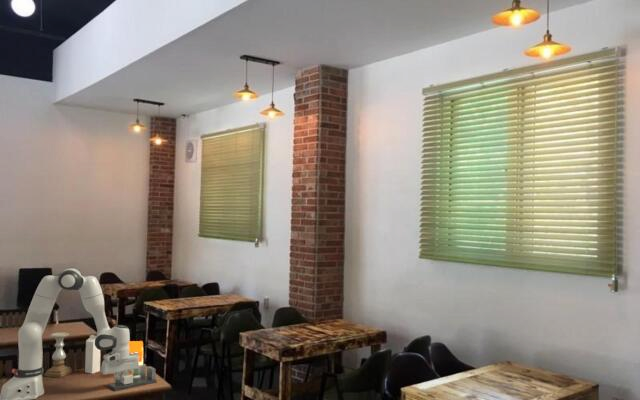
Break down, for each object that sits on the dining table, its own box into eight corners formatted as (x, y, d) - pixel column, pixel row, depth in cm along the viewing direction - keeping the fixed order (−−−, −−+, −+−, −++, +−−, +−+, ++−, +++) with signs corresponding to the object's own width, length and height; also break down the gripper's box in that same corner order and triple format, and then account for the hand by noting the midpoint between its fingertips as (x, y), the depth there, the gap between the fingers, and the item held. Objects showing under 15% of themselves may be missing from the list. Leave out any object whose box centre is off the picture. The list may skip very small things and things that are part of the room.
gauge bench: (114, 391, 294) (115, 375, 294) (107, 386, 302) (108, 370, 302) (156, 382, 310) (157, 367, 310) (148, 378, 318) (149, 363, 318)
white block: (124, 384, 300) (124, 377, 300) (119, 381, 304) (119, 374, 305) (141, 381, 306) (141, 374, 306) (136, 378, 311) (136, 371, 311)
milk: (92, 369, 331) (94, 333, 332) (100, 371, 329) (101, 334, 330) (84, 372, 326) (86, 335, 327) (92, 373, 323) (93, 336, 324)
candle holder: (61, 377, 315) (62, 336, 315) (44, 376, 316) (45, 335, 317) (72, 372, 326) (73, 332, 326) (55, 370, 327) (57, 331, 328)
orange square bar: (130, 380, 307) (131, 371, 307) (130, 379, 308) (130, 370, 308) (132, 379, 308) (133, 371, 308) (132, 379, 309) (132, 370, 309)
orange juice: (127, 373, 326) (128, 339, 327) (142, 372, 328) (143, 339, 329) (125, 377, 319) (126, 343, 319) (141, 376, 320) (142, 342, 321)
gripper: (136, 350, 310) (135, 374, 310) (100, 356, 296) (99, 381, 296) (141, 352, 305) (140, 377, 305) (104, 358, 292) (103, 384, 291)
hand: (120, 379), depth 300 cm, fingers closed
